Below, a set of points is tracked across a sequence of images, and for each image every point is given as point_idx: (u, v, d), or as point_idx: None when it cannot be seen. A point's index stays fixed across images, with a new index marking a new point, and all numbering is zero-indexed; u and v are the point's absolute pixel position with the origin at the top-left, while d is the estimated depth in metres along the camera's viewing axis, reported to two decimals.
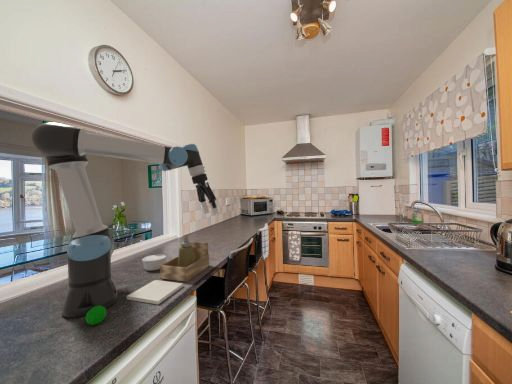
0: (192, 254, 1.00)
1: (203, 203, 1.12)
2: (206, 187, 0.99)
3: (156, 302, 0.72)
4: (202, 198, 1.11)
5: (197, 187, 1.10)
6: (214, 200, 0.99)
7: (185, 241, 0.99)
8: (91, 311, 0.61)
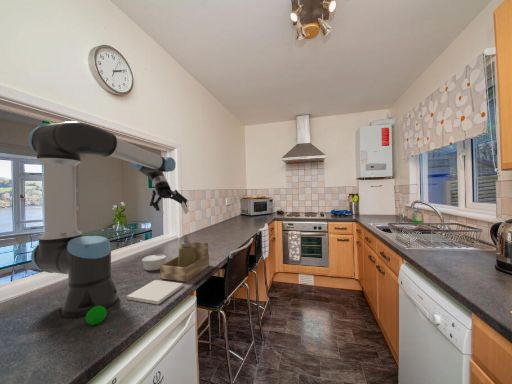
0: (192, 254, 1.00)
1: None
2: None
3: (156, 302, 0.72)
4: (158, 202, 1.07)
5: (155, 192, 1.10)
6: (185, 202, 1.18)
7: (185, 241, 0.99)
8: (91, 311, 0.61)
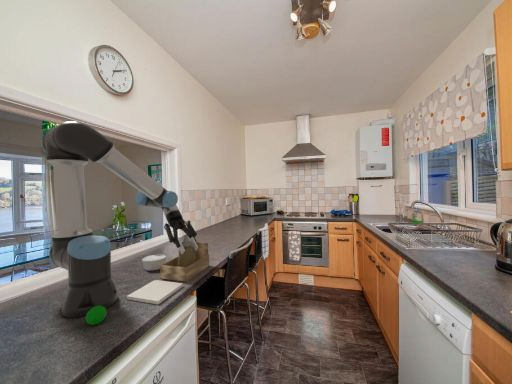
0: (192, 254, 1.00)
1: None
2: None
3: (156, 302, 0.72)
4: None
5: (168, 225, 1.01)
6: (194, 237, 1.06)
7: (185, 241, 0.99)
8: (91, 311, 0.61)
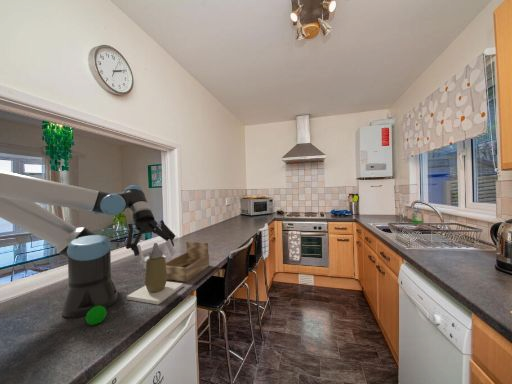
0: (163, 268, 0.79)
1: None
2: None
3: (156, 302, 0.72)
4: (138, 241, 0.78)
5: None
6: (172, 239, 0.88)
7: (154, 251, 0.79)
8: (91, 311, 0.61)
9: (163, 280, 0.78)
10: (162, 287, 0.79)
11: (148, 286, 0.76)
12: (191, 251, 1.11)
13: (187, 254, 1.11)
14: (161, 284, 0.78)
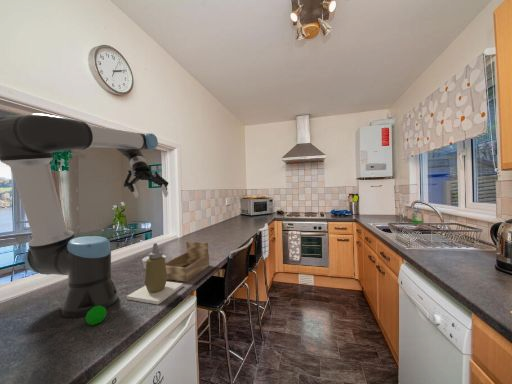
0: (163, 268, 0.79)
1: None
2: None
3: (156, 302, 0.72)
4: (134, 182, 0.97)
5: None
6: (166, 186, 1.08)
7: (154, 251, 0.79)
8: (91, 311, 0.61)
9: (163, 280, 0.78)
10: (162, 287, 0.79)
11: (148, 286, 0.76)
12: (191, 251, 1.11)
13: (187, 254, 1.11)
14: (161, 284, 0.78)
